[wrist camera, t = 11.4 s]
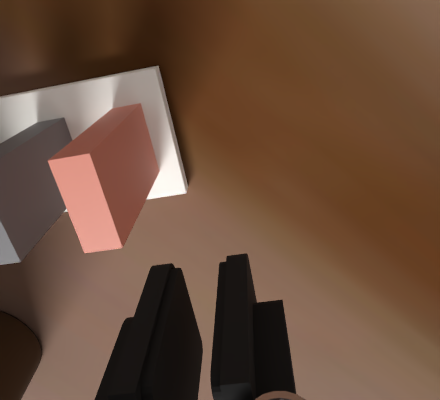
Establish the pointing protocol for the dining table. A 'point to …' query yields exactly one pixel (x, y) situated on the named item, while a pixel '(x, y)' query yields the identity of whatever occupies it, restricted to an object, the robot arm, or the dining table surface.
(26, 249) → the domino
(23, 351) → the olive oil
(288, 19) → the dining table surface
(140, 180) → the red domino
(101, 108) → the board
